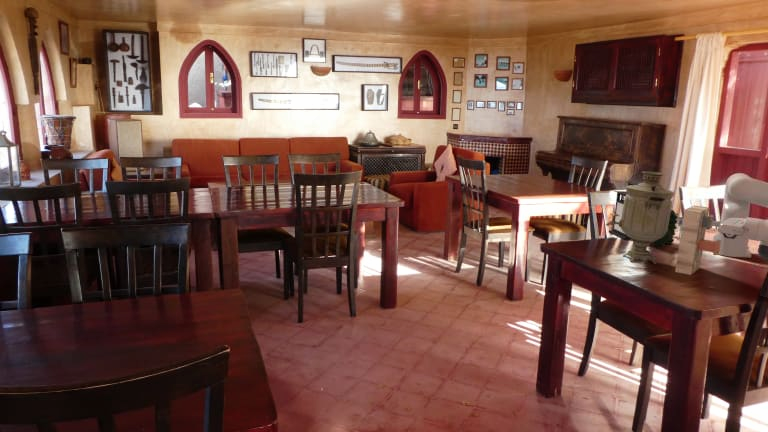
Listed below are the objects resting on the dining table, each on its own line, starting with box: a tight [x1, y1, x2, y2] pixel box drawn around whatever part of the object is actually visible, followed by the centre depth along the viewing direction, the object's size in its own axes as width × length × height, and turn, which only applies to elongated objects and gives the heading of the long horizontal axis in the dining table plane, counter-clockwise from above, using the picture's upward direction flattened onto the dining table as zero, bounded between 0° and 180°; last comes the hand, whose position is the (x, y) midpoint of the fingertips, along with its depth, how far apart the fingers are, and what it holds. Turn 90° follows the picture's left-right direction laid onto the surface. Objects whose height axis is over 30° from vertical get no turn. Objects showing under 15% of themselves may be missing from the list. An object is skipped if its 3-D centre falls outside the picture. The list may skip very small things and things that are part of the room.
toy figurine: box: [652, 209, 678, 249], centre depth 284 cm, size 9×19×25 cm
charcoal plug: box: [701, 214, 715, 231], centre depth 238 cm, size 6×9×6 cm, turn 49°
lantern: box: [608, 172, 643, 241], centre depth 301 cm, size 17×17×35 cm
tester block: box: [674, 205, 710, 276], centre depth 241 cm, size 16×6×27 cm, turn 139°
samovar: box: [605, 171, 675, 265], centre depth 254 cm, size 30×26×40 cm
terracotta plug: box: [698, 239, 721, 256], centre depth 238 cm, size 6×9×6 cm, turn 49°
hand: (711, 222), depth 235 cm, fingers closed
